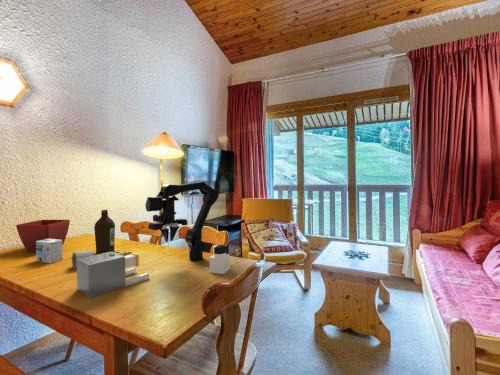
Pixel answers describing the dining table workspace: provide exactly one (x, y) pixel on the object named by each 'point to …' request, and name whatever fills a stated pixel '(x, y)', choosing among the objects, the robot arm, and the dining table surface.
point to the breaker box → (104, 274)
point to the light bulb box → (49, 250)
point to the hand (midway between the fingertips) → (169, 241)
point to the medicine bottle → (219, 260)
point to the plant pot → (42, 232)
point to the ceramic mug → (80, 256)
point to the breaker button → (132, 260)
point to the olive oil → (104, 234)
